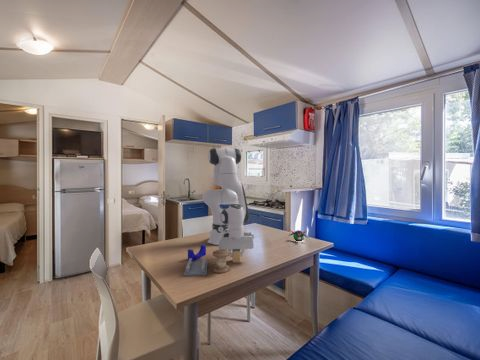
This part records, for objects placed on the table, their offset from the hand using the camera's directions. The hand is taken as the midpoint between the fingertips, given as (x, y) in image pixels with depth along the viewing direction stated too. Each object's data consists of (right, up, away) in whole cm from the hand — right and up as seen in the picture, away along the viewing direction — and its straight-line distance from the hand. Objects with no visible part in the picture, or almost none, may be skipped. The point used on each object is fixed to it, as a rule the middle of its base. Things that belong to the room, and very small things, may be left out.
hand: (236, 256), depth 131 cm
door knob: (-8, -3, -12) cm, 14 cm away
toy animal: (+47, -2, +38) cm, 60 cm away
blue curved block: (-23, -3, +6) cm, 24 cm away
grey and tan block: (0, -3, 0) cm, 3 cm away
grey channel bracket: (-21, -3, -11) cm, 24 cm away
